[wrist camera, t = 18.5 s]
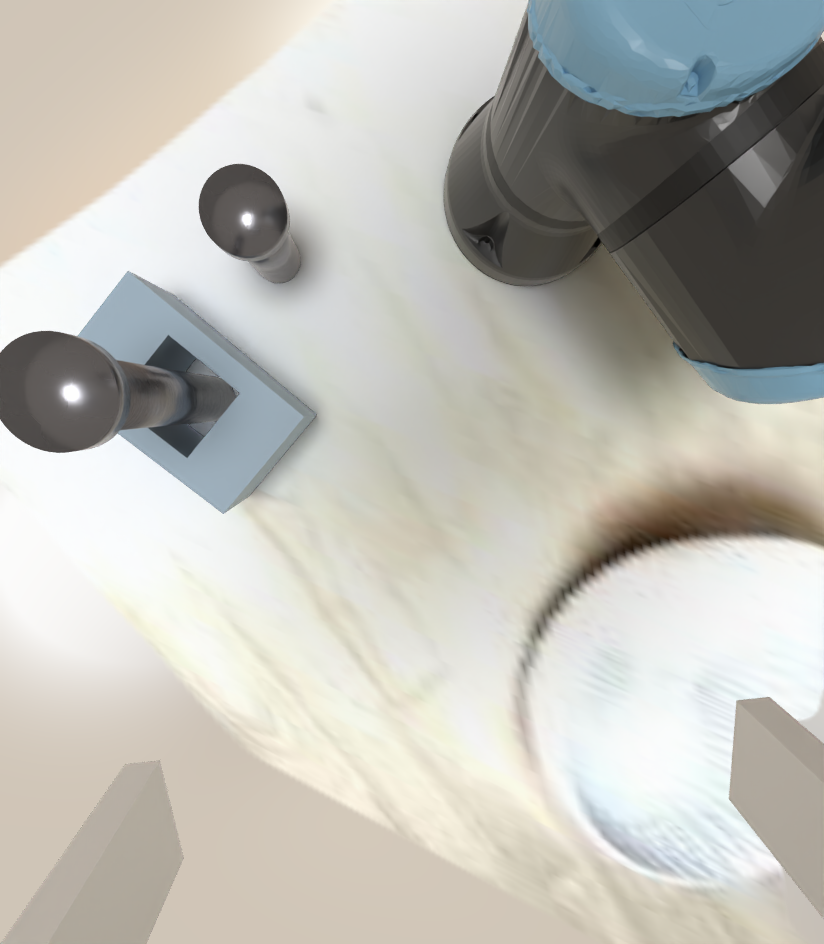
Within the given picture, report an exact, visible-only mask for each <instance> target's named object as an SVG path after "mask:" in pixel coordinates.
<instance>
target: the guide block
mask: <svg viewBox="0 0 824 944" xmlns="http://www.w3.org/2000/svg"><path fill="white" fill-rule="evenodd" d="M78 337H82V338H85V339H88V340H90V341H92V342H94V343H96V344H98V345H100V346H101V347H103V348H104V349H105V350H107V351H108V352H109V353H110V354H111V355H112V356H113V357H114V358H115V359H116V360H120V361H126V362H131V363H137V364H143V365H149V366H155V367H160V368H166V369H172V370H178V371H184V372H186V370H187V369H188V368H189V367H190V365H191V364H192V363H193V362H194V360H195V359H196V358H197V359H199V360H200V361H201V362H202V363H203V364H205V365H206V366H207V367H208V368H210V369H211V370H212V371H213V372H214V373H216V374H217V375H218V376H219V377H221V378H222V379H223V380H224V381H225V382H227V383H228V384H229V385H230V386H232V387H233V388H234V389H235V390H236V391H238V392H239V393H240V394H239V395H238V396H237V397H236V399H235V400H234V401H233V402H232V404H231V405H230V406H229V407H228V409H227V410H226V411H225V412H224V413H223V415H222V416H221V417H220V418H219V420H218V421H217V422H216V423H215V425H214V426H213V427H212V428H211V429H210V431H209V432H208V433H207V434H206V436H205V437H203V436H202V435H201V434H199V433H198V432H197V431H195V430H194V429H193V428H192V427H190V426H189V425H188V424H181V425H170V426H160V427H149V428H139V429H128V430H120V431H119V432H118V434H119V435H121V436H122V437H123V438H125V439H126V440H127V441H129V442H130V443H131V444H132V445H134V446H135V447H136V448H138V449H139V450H140V451H142V452H143V453H144V454H146V455H147V456H148V457H149V458H151V459H152V460H153V461H155V462H156V463H157V464H159V465H160V466H161V467H163V468H164V469H165V470H166V471H168V472H169V473H170V474H172V475H173V476H174V477H176V478H177V479H178V480H180V481H181V482H182V483H184V484H185V485H186V486H187V487H189V488H190V489H191V490H193V491H194V492H195V493H197V494H198V495H199V496H201V497H202V498H203V499H204V500H206V501H207V502H208V503H210V504H211V505H212V506H214V507H215V508H216V509H218V510H219V511H220V512H221V513H223V514H224V513H225V512H227V511H228V510H230V509H231V508H233V507H234V506H236V505H237V504H239V503H240V502H241V501H243V500H244V499H246V498H247V497H249V496H250V495H251V493H252V492H253V491H254V490H255V489H256V487H257V486H258V485H259V484H260V483H261V481H262V480H263V479H264V478H265V477H266V475H267V474H268V473H269V472H270V471H271V469H272V468H273V467H274V466H275V465H276V463H277V462H278V461H279V460H280V459H281V457H282V456H283V455H284V454H285V453H286V451H287V450H288V449H289V448H290V447H291V445H292V444H293V443H294V442H295V441H296V439H297V438H298V437H299V436H300V435H301V433H302V432H303V431H304V430H305V429H306V427H307V426H308V425H309V424H310V423H311V421H312V420H313V419H314V418H315V417H316V414H315V413H314V412H313V411H312V410H311V409H309V408H308V407H307V406H306V405H305V404H303V403H302V402H301V401H300V400H299V399H297V398H296V397H295V396H294V395H293V394H291V393H290V392H289V391H288V390H287V389H285V388H284V387H283V386H282V385H281V384H279V383H278V382H277V381H276V380H275V379H273V378H272V377H271V376H270V375H269V374H267V373H266V372H265V371H264V370H263V369H261V368H260V367H259V366H258V365H257V364H255V363H254V362H253V361H252V360H251V359H249V358H248V357H247V356H246V355H245V354H243V353H242V352H241V351H240V350H239V349H237V348H236V347H235V346H234V345H233V344H231V343H230V342H229V341H228V340H227V339H225V338H224V337H223V336H222V335H221V334H219V333H218V332H217V331H216V330H215V329H213V328H212V327H211V326H210V325H209V324H207V323H206V322H205V321H204V320H203V319H201V318H200V317H199V316H198V315H197V314H195V313H194V312H193V311H192V310H191V309H189V308H188V307H187V306H186V305H185V304H183V303H182V302H181V301H180V300H179V299H178V298H176V297H175V296H174V295H173V294H171V293H169V292H167V291H165V290H163V289H161V288H160V287H158V286H156V285H154V284H152V283H150V282H148V281H146V280H144V279H143V278H141V277H139V276H137V275H135V274H133V273H131V272H129V271H128V272H127V273H126V274H125V275H124V277H123V278H122V279H121V281H120V282H119V283H118V284H117V286H116V287H115V288H114V290H113V291H112V292H111V294H110V295H109V296H108V297H107V299H106V300H105V301H104V303H103V304H102V305H101V306H100V308H99V309H98V310H97V312H96V313H95V314H94V316H93V317H92V318H91V319H90V321H89V322H88V323H87V325H86V326H85V327H84V328H83V330H82V331H81V332H80V334H79V335H78Z"/></svg>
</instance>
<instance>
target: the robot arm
mask: <svg viewBox="0 0 824 944" xmlns="http://www.w3.org/2000/svg"><path fill="white" fill-rule="evenodd" d="M823 31H824V0H529V2H528V5H527V8H526V11H525V14H524V16H523V19H522V22H521V25H520V28H519V30H518V33H517V36H516V39H515V42H514V44H513V47H512V50H511V53H510V56H509V58H508V61H507V64H506V67H505V70H504V72H503V75H502V78H501V81H500V84H499V86H498V89H497V92H496V95H495V96H494V97H492V98H491V99H490V100H488V101H487V102H486V103H485V104H483V105H482V106H481V107H480V108H479V109H478V110H477V111H476V112H475V113H474V114H473V115H472V117H471V118H470V119H469V120H468V122H467V123H466V125H465V126H464V128H463V129H462V131H461V133H460V134H459V136H458V138H457V140H456V143H455V145H454V148H453V150H452V153H451V157H450V160H449V164H448V167H447V171H446V176H445V183H444V207H445V213H446V218H447V222H448V225H449V228H450V231H451V233H452V236H453V238H454V240H455V242H456V243H457V245H458V247H459V248H460V250H461V251H462V253H463V254H464V255H465V256H466V258H467V259H468V260H469V261H470V262H471V263H472V264H473V265H474V266H475V267H477V268H478V269H479V270H480V271H482V272H483V273H485V274H486V275H488V276H490V277H492V278H494V279H496V280H499V281H501V282H504V283H508V284H512V285H519V286H533V285H541V284H545V283H549V282H552V281H555V280H557V279H559V278H561V277H563V276H565V275H567V274H568V273H570V272H571V271H573V270H574V269H576V268H577V267H579V266H580V265H581V264H583V263H584V262H585V261H586V260H588V259H589V258H590V257H591V256H592V255H593V254H594V253H595V252H596V251H597V249H598V248H599V247H600V246H601V245H602V243H603V244H604V245H605V247H606V248H607V249H608V251H609V253H610V255H611V256H612V257H613V259H614V260H615V261H616V263H617V264H618V266H619V267H620V268H621V270H622V271H623V272H624V274H625V275H626V276H627V278H628V279H629V281H630V282H631V283H632V285H633V286H634V287H635V289H636V290H637V291H638V293H639V294H640V296H641V297H642V298H643V300H644V301H645V302H646V304H647V305H648V306H649V308H650V309H651V311H652V312H653V313H654V315H655V316H656V317H657V319H658V320H659V321H660V323H661V324H662V326H663V327H664V328H665V330H666V331H667V332H668V334H669V335H670V337H671V338H672V339H673V346H674V348H675V350H676V351H677V353H678V354H679V355H680V357H681V358H683V359H684V360H686V361H687V362H688V363H689V364H691V365H692V366H693V367H694V368H695V369H696V371H697V372H698V373H699V374H700V375H701V377H702V378H703V379H704V380H705V382H706V383H707V384H708V385H709V386H710V387H711V388H712V389H714V390H715V391H717V392H719V393H721V394H723V395H725V396H726V397H728V398H732V399H734V400H737V401H742V402H748V403H756V404H782V403H792V402H800V401H807V400H812V399H818V398H823V397H824V41H823V40H822V38H821V34H822V32H823ZM729 800H730V801H731V802H732V804H733V805H734V806H735V807H736V809H737V810H738V811H739V812H740V814H741V815H742V816H743V818H744V819H745V820H746V821H747V823H748V824H749V825H750V826H751V828H752V829H753V830H754V831H755V833H756V834H757V835H758V837H759V838H760V839H761V840H762V842H763V843H764V844H765V845H766V847H767V848H768V849H769V850H770V852H771V853H772V854H773V856H774V857H775V858H776V859H777V861H778V862H779V863H780V864H781V866H782V867H783V868H784V869H785V871H786V872H787V873H788V875H789V876H790V877H791V878H792V880H793V881H794V882H795V883H796V885H797V886H798V887H799V888H800V890H801V891H802V892H803V894H804V895H805V896H806V897H807V898H808V900H809V901H810V902H811V904H812V905H813V906H814V907H815V909H816V910H817V911H818V912H819V914H820V915H821V916H822V918H823V919H824V744H823V743H822V742H821V741H820V740H819V739H818V738H816V737H815V736H814V735H813V734H812V733H811V732H809V731H808V730H807V729H806V728H805V727H803V726H802V725H801V724H800V723H799V722H798V721H797V720H796V719H794V718H793V717H792V716H791V715H790V714H789V713H787V712H786V711H785V710H784V709H783V708H782V707H780V706H779V705H778V704H777V703H776V702H775V701H773V700H772V699H771V698H770V697H765V698H756V699H746V700H737V701H736V714H735V727H734V740H733V753H732V766H731V779H730V792H729ZM183 859H184V857H183V853H182V849H181V845H180V841H179V837H178V833H177V829H176V825H175V821H174V817H173V812H172V808H171V804H170V800H169V796H168V792H167V788H166V784H165V780H164V776H163V772H162V768H161V764H160V761H150V762H141V763H130V764H125V765H124V766H123V768H122V769H121V771H120V772H119V774H118V775H117V777H116V778H115V779H114V781H113V783H112V784H111V785H110V787H109V788H108V790H107V791H106V792H105V794H104V795H103V797H102V798H101V800H100V801H99V803H98V804H97V806H96V807H95V808H94V810H93V811H92V813H91V814H90V815H89V817H88V818H87V820H86V821H85V823H84V824H83V826H82V827H81V828H80V830H79V831H78V833H77V834H76V836H75V837H74V839H73V840H72V842H71V843H70V844H69V846H68V847H67V849H66V850H65V852H64V853H63V855H62V856H61V857H60V859H59V860H58V862H57V863H56V865H55V866H54V868H53V869H52V870H51V872H50V873H49V875H48V876H47V878H46V879H45V880H44V882H43V883H42V885H41V886H40V888H39V889H38V890H37V892H36V893H35V895H34V896H33V898H32V899H31V901H30V902H29V903H28V905H27V906H26V908H25V909H24V911H23V912H22V914H21V915H20V917H19V918H18V919H17V921H16V922H15V924H14V925H13V926H12V928H11V929H10V931H9V932H8V934H7V935H6V937H5V938H4V939H3V941H2V942H1V944H146V943H147V941H148V938H149V936H150V934H151V932H152V929H153V927H154V925H155V922H156V920H157V918H158V916H159V913H160V911H161V909H162V907H163V904H164V902H165V900H166V897H167V895H168V893H169V891H170V888H171V886H172V884H173V881H174V879H175V877H176V875H177V872H178V870H179V868H180V865H181V863H182V861H183Z"/></svg>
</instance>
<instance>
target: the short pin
mask: <svg viewBox="0 0 824 944" xmlns="http://www.w3.org/2000/svg"><path fill="white" fill-rule="evenodd" d="M199 214H200V219H201V222H202V225H203V227H204V229H205V231H206V232H207V234H208V236H209V237H210V238H211V239H212V240H213V241H214V242H215V243H216V244H217V245H218V246H219V247H220V248H221V249H222V250H223V251H224V252H225V253H227V254H228V255H230V256H232V257H234V258H236V259H239V260H243V261H248V262H249V263H250V264H251V265H252V266H253V267H254V268H255V269H256V270H257V271H258V272H259V274H260V275H261V276H262V277H263V278H265V279H266V280H268V281H270V282H273V283H285V282H288V281H290V280H291V279H292V278H294V277H295V276H296V274H297V273H298V271H299V268H300V263H301V258H300V253H299V251H298V248H297V247H296V245H295V243H294V241H293V239H292V237H291V235H290V233H289V232H288V231H289V225H290V216H289V210H288V207H287V204H286V201H285V199H284V197H283V195H282V193H281V191H280V189H279V187H278V186H277V184H276V183H275V182H274V180H273V179H272V178H271V177H270V176H269V175H267V174H266V173H265V172H263V171H262V170H260V169H258V168H256V167H253V166H250V165H245V164H233V165H228V166H225V167H223V168H221V169H219V170H217V171H216V172H214V173H213V174H212V175H211V176H210V177H209V178H208V180H207V181H206V183H205V184H204V186H203V188H202V191H201V194H200V199H199Z"/></svg>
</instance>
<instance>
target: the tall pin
mask: <svg viewBox="0 0 824 944" xmlns="http://www.w3.org/2000/svg"><path fill="white" fill-rule="evenodd" d="M234 400H235V394H234V391H233V389H232V388H231V386H230V385H229V384H228V383H227V382H225V381H224V380H223V379H221V378H218V377H213V376H207V375H201V374H195V373H190V372H184V371H178V370H172V369H166V368H160V367H155V366H149V365H143V364H137V363H131V362H126V361H120V360H116V359H115V358H114V357H113V356H112V355H111V354H110V353H109V352H108V351H107V350H105V349H104V348H103V347H101V346H100V345H98V344H96V343H94V342H92V341H90V340H88V339H85V338H82V337H78V336H73V335H69V334H65V333H60V332H53V331H39V332H33V333H29V334H26V335H23V336H21V337H19V338H17V339H15V340H14V341H12V342H11V343H10V344H8V345H7V346H6V347H5V348H4V349H3V350H2V352H1V353H0V419H1V421H2V422H3V424H4V425H5V426H6V427H7V429H8V430H9V431H10V432H11V433H12V434H14V435H15V436H16V437H17V438H18V439H20V440H21V441H23V442H24V443H26V444H28V445H30V446H32V447H35V448H37V449H40V450H44V451H48V452H56V453H65V452H72V451H79V450H86V449H91V448H95V447H98V446H100V445H102V444H104V443H106V442H108V441H109V440H111V439H112V438H113V437H114V436H115V435H116V434H117V433H118V432H119V431H120V430H128V429H139V428H149V427H160V426H170V425H181V424H192V423H202V422H213V421H218V420H219V418H220V417H221V416H222V415H223V413H224V412H225V411H226V410H227V409H228V407H229V406H230V405H231V404H232V402H233V401H234Z"/></svg>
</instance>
